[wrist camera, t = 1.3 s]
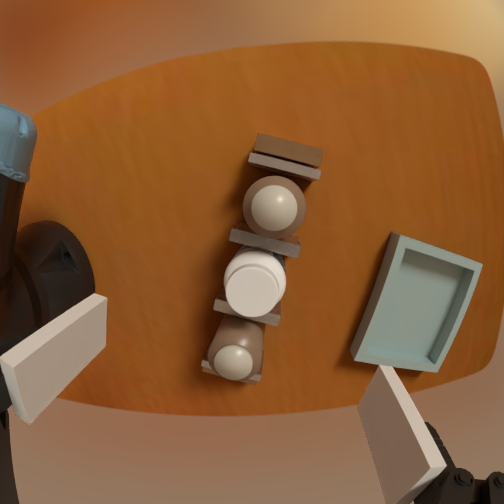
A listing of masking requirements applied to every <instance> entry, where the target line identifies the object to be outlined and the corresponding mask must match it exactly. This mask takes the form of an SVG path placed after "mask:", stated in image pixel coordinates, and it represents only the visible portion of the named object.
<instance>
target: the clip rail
mask: <svg viewBox="0 0 504 504" xmlns="http://www.w3.org/2000/svg"><path fill="white" fill-rule="evenodd" d="M254 151H255V153H256V154H255V153H251V152H250V156H249V160H248V162H249V163H250V164H251V165H252V166H253V167H258V168H262V169H266V170H270V171H274V172H278V173H282V174H285V175H289V176H293V177H297V178H300V179H304V180H308V181H311V182H313V181H317V180H319V178H320V174H321V170H317V168H318V167H320V163H321V159H322V155H323V151H324V150H322V149H318V148H315V147H311V146H308V145H304V144H300V143H297V142H293V141H289V140H285V139H281V138H277V137H273V136H269V135H264V134H260V133H258V135H257V139H256V143H255V147H254ZM229 241H232V242H236V243H240V244H244V245H248V246H251V247H255V248H259V249H263V250H267V251H271V252H275V253H278V254H282V255H286V256H290V257H294V258H297V259H298V256H299V253H300V249H301V244H300V242H299V239H298V237H295V236H292V235H289V236H287V237H284V238H280V239H269V238H265V237H262V236H260V235H258V234H257V233H255V232H254V231H253V230H252V229H251V228H250V227H249V225H248V224H246V223H242V222H238V223H237V224H236V225H235V226H234V227H232V229H231V233H230V238H229ZM213 310H216V311H220V312H224V313H227V314H231V315H235V316H238V317H242V318H246V319H250V320H254V321H258V322H262V323H266V324H270V325H274V326H278V323H279V320H280V317H281V299H280V301H279V302H278V303H277V304H276V305H275V306H274V307H273V309H272V310H271V311H269V312H268V313H267V314H265V315H262V316H259V317H246V316H243V315H240V314H239V313H237V312H236V311H234V310H233V309H232V308H231V306H230V305H229V303H228V301H227V298H226V291H225V287H224V285H223V286H222V288H221V290H220V292H219V293H218V295H217V297H216V299H215V303H214V308H213ZM213 339H214V337H212V339H211V341H210V344H209V346H208V348H207V350H206V353H205V355H204V357H203V359H202V364H201V366H202V367H203V370H202V371H203V372H206V373H210V374H214V375H217V376H219V375H218V374H216V373H215V372H214V371H213V370H212V368H211V367H210V365H209V362H208V351H209V348H210V346H211V344H212V341H213ZM263 355H264V351H262V360H261V366H260V369H259V370H258V372H257V373H256V374H255V375H254V376H252V377H251V378H249V379H246V380H242V381H240V382H244V383H248V384H252V385H256V383H257V381H260V378H261V375H262V365H263Z"/></svg>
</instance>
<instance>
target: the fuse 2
mask: <svg viewBox="0 0 504 504" xmlns="http://www.w3.org/2000/svg"><path fill="white" fill-rule="evenodd" d="M243 214H244V218H245V220H246V222H247V224H248V225H249V227H250V228H251V229H252V230H253V231H254V232H255V233H257V234H258V235H260V236H262V237H265V238H269V239H280V238H284V237H287V236H289V235H291V234H292V233H294V232H295V231H296V230H297V229H298V228H299V227H300V226H301V224H302V222H303V220H304V218H305V214H306V201H305V198H304V195H303V193H302V191H301V190H300V188H299V187H298V186H297V185H296V184H295V183H294V182H292V181H291V180H289V179H287V178H284V177H281V176H268V177H264V178H261V179H259V180H258V181H256V182H255V183H254V184H252V185H251V187H250V188H249V189H248V191H247V192H246V194H245V197H244V200H243Z"/></svg>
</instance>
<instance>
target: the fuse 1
mask: <svg viewBox="0 0 504 504" xmlns="http://www.w3.org/2000/svg"><path fill="white" fill-rule="evenodd" d="M264 332H265V323H262V322H258V321H254V320H250V319H246V318H242V317H238V316H235V315H231V314H227V313H224V316H223V318H222V320H221V323H220V325H219V327H218V330H217V332H216V334H215V337H214V339H213V341H212V344H211V346H210V348H209V351H208V362H209V365H210V367H211V368H212V370H213V371H214V372H215V373H216V374H218V375H219V376H221V377H222V378H225V379H227V380H231V381H242V380H246V379H249V378H251V377H252V376H254V375H255V374H256V373H257V372H258V370H259V369H260V366H261V360H262V351H263V341H264Z"/></svg>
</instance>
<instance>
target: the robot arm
mask: <svg viewBox="0 0 504 504" xmlns="http://www.w3.org/2000/svg"><path fill="white" fill-rule="evenodd" d="M36 140H37V129H36V126H35V123H34V122H33V120H32V119H31V118H30V117H29V116H27V115H25V114H23V113H21V112H19V111H17V110H15V109H13V108H11V107H8V106H6V105H3V104H1V103H0V504H19V500H18V495H17V490H16V485H15V478H14V473H13V464H12V456H11V446H10V432H9V414H8V410H7V409H8V408H9V407H10V406H11V405H12V406H13V409H14V412H15V414H16V416H18V417H19V418H21V419H22V420H24V421H25V422H27V423H28V424H31V423H32V422H33V421H34V420H35V419H36V418H37V416H39V415H40V413H41V412H42V411H43V410H44V409H45V408H46V407H47V406H48V405H49V404H50V403H51V402H52V400H54V399H55V398H56V397H57V395H58V394H59V393H60V392H61V391H62V390H63V389H64V388H65V387H66V386H67V385H68V384H69V383H70V382H71V381H72V380H73V379H74V378H75V377H76V376H77V375H78V374H79V373H80V372H81V371H82V370H83V369H84V368H85V367H86V366H87V365H88V363H89V362H90V361H91V360H92V359H93V358H94V357H95V356H96V355H97V354H98V353H99V352H100V351H101V350H102V349H103V348H104V347H105V346H106V315H107V298H106V297H104V296H101V295H98V294H95V283H94V276H93V272H92V268H91V265H90V262H89V259H88V257H87V254H86V252H85V250H84V249H83V247H82V245H81V244H80V242H79V241H78V239H77V238H76V237H75V236H74V235H73V233H72V232H71V231H69V230H68V229H67V228H66V227H64V226H63V225H61V224H59V223H57V222H53V221H41V222H36V223H32V224H29V225H27V226H25V227H24V228H22V229H21V230H20V231H19V232H17V227H18V221H19V215H20V209H21V204H22V199H23V194H24V189H25V185H26V182H28V181H29V179H30V172H29V170H30V165H31V161H32V156H33V152H34V148H35V144H36ZM357 409H358V412H359V415H360V418H361V422H362V424H363V428H364V431H365V434H366V437H367V440H368V444H369V446H370V450H371V453H372V457H373V460H374V464H375V467H376V470H377V474H378V477H379V480H380V484H381V488H382V491H383V495H384V499H385V502H386V504H410V503H411V502H412V501H414V504H504V473H501V472H493V473H492V474H490V475H489V476H488V478H487V479H486V480H478V479H474V477H473V475H472V474H471V473H470V472H469V471H467V470H465V469H462V468H456V467H455V465H454V463H453V461H452V459H451V457H450V455H449V453H448V451H447V450H446V448H445V446H443V442H442V440H441V439H440V437H439V435H438V433H437V432H436V430H435V429H434V428H433V427H432V426H431V425H430V424H429V423H428V422H424V421H423V419H422V417H421V416H420V414H419V412H418V410H417V409H416V407H415V405H414V403H413V401H412V400H411V398H410V396H409V394H408V393H407V391H406V389H405V387H404V386H403V384H402V382H401V380H400V379H399V377H398V375H397V374H396V372H395V370H394V369H393V367H392V366H384V365H379V366H378V368H377V370H376V372H375V374H374V376H373V378H372V380H371V382H370V384H369V386H368V388H367V390H366V392H365V394H364V396H363V398H362V399H361V401H360V403H359V405H358V407H357Z"/></svg>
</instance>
